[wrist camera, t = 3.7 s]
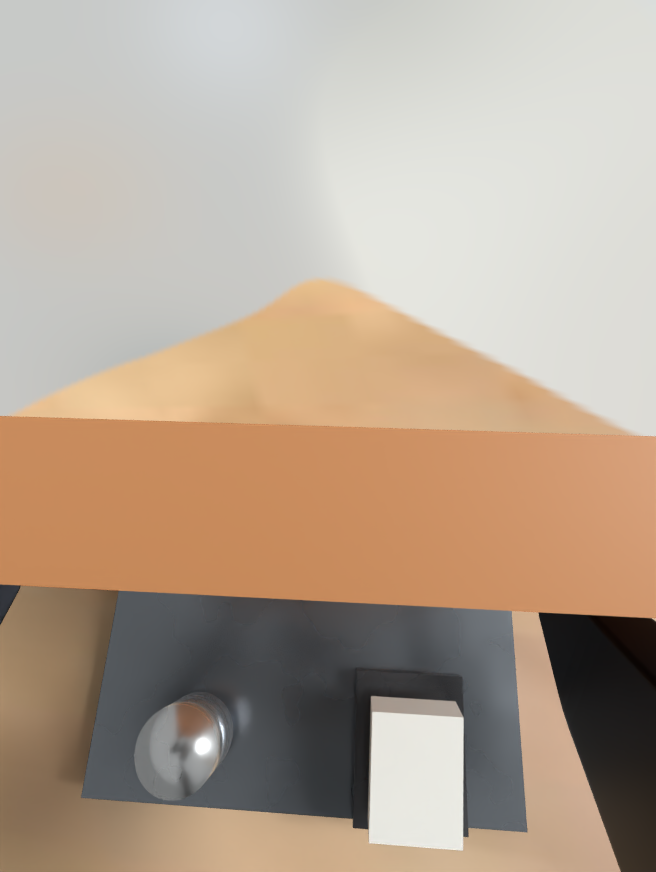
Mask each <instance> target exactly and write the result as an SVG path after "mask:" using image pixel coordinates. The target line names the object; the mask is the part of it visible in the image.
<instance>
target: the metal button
mask: <svg viewBox="0 0 656 872" xmlns="http://www.w3.org/2000/svg"><path fill="white" fill-rule="evenodd" d="M233 730H234V728H233V720H232V716H231V713H230V711H229V709H228V707H227V706H226V704H225V703H224V702H223V701H222V700H221V699H220V698H218V697H217V696H215V695H213V694H211V693H208V692H194V693H190V694H188V695H186V696H184V697H182V698H180V699H179V700H177V701H175V702H173V703H172V704H170V705H168V706H166V707H165V708H163V709H161V710H160V711H158V712H156V713H155V714H154V715H153V716H152V717H151V718H150V719H149V720H148V721H147V722H146V723H145V725H144V726H143V728H142V730H141V731H140V734H139V736H138V739H137V742H136V746H135V754H134V761H135V768H136V772H137V775H138V778H139V780H140V782H141V784H142V785H143V786H144V788H145V789H146V790H147V791H148V792H149V793H151V794H152V795H153V796H155V797H157V798H159V799H162V800H167V801H175V800H181V799H184V798H186V797H188V796H191V795H192V794H193V793H195V792H196V791H197V790H199V789H200V788H201V787H202V785H203V784H204V783H205V782H206V781H207V779H208V778H209V777H210V776H211V774H212V773H213V772H214V771H215V769H216V768H217V767H218V766H219V764H220V763H221V762H222V761H223V759H224V758H225V756H226V755H227V753H228V751H229V749H230V746H231V743H232V740H233Z"/></svg>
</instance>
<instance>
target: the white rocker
mask: <svg viewBox="0 0 656 872" xmlns="http://www.w3.org/2000/svg"><path fill="white" fill-rule="evenodd" d="M463 735H464V717H463V715H462V713H461V711H460V709H459V707H458V705H457V703H456V701H442V700H426V699H410V698H394V697H379V696H371V712H370V750H369V788H368V834H369V843H374V844H386V845H399V846H411V847H424V848H436V849H449V850H461V851H463Z"/></svg>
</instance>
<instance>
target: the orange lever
mask: <svg viewBox="0 0 656 872" xmlns="http://www.w3.org/2000/svg"><path fill="white" fill-rule="evenodd" d="M0 584H2V585H21V586H41V587H60V588H79V589H99V590H118V591H137V592H157V593H176V594H195V595H214V596H234V597H253V598H272V599H292V600H311V601H330V602H350V603H369V604H388V605H407V606H427V607H446V608H465V609H485V610H504V611H523V612H543V613H562V614H581V615H600V616H620V617H639V618H656V437H654V436H622V435H590V434H558V433H526V432H493V431H461V430H429V429H397V428H365V427H333V426H301V425H269V424H237V423H204V422H172V421H140V420H108V419H76V418H44V417H12V416H0Z"/></svg>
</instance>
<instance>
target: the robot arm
mask: <svg viewBox="0 0 656 872" xmlns="http://www.w3.org/2000/svg"><path fill="white" fill-rule="evenodd" d="M20 586H21V585H2V584H0V624H1V623H2V621H3V619H4V617H5V615H6V613H7V612H8V610H9V608H10V606H11V604H12V602H13V600H14V599H15V597H16V595H17V593H18V591H19V589H20ZM539 618H540V622H541V626H542V630H543V634H544V638H545V642H546V646H547V650H548V654H549V658H550V662H551V666H552V670H553V674H554V678H555V682H556V686H557V690H558V694H559V698H560V702H561V705H562V709H563V712H564V715H565V718H566V721H567V724H568V727H569V730H570V733H571V736H572V738H573V741H574V744H575V747H576V749H577V752H578V755H579V758H580V760H581V763H582V766H583V769H584V771H585V774H586V777H587V780H588V782H589V785H590V788H591V791H592V793H593V796H594V799H595V802H596V804H597V807H598V810H599V813H600V816H601V818H602V821H603V824H604V827H605V829H606V832H607V835H608V838H609V840H610V843H611V846H612V849H613V851H614V854H615V857H616V860H617V862H618V865H619V868H620V871H621V872H656V621H655V620H653V619H652V618H639V617H620V616H600V615H581V614H562V613H543V612H539Z"/></svg>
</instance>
